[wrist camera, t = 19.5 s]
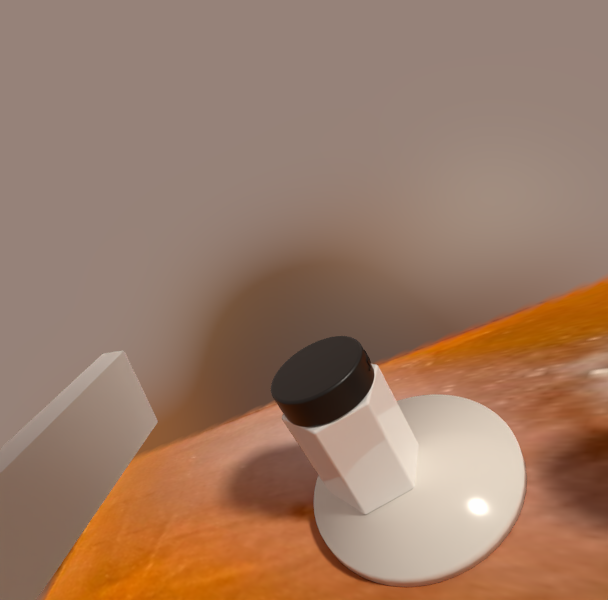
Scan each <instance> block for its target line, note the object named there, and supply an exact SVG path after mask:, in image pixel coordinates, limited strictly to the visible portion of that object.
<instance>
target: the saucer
mask: <svg viewBox="0 0 608 600" xmlns="http://www.w3.org/2000/svg"><path fill="white" fill-rule="evenodd" d="M397 403H398V405H399V407H400V409H401V411H402V413H403V415H404V417H405V419H406V421H407V423H408V424H409V426H410V428H411V430H412V432H413V434H414V436H415V438H416V440H417V442H418V444H419V448H418V458H417V468H416V478H415V487H414V488H413V489H412V490H410V491H408V492H406V493H405V494H403V495H401V496H399V497H397V498H396V499H394V500H392V501H390V502H388V503H386V504H385V505H383V506H381V507H379V508H377V509H376V510H374V511H372V512H370V513H368V514H363V513H362V512H360V511H358V510H357V509H355V508H353V507H352V506H350V505H349V504H347V503H345V502H344V501H342V500H341V499H339V498H337V497H336V496H334V495H333V494H331V493H330V492H329V490H328V489H327V487H326V486H325V484H324V483H323V481H322V480H321V478H320V476H319V475H318V478H317V481H316V486H315V490H314V514H315V519H316V523H317V526H318V529H319V531H320V534H321V536H322V537H323V539H324V541H325V542H326V544H327V546H328V547H329V548H330V550H331V551H332V553H333V554H334V555H335V556H336V557H337V559H338V560H339V561H340V562H341V563H342V564H344V565H345V566H346V567H347V568H348V569H349V570H351V571H352V572H354V573H356V574H357V575H359V576H361V577H363V578H365V579H368V580H370V581H373V582H376V583H380V584H384V585H389V586H399V587H414V586H425V585H430V584H434V583H439V582H442V581H445V580H448V579H451V578H453V577H456V576H458V575H460V574H462V573H464V572H466V571H468V570H470V569H472V568H473V567H475V566H476V565H477V564H479V563H480V562H482V561H483V560H484V559H486V558H487V557H488V556H489V555H490V554H491V553H492V552H493V551H495V550H496V549H497V548H498V547H499V546H500V544H501V543H502V542H503V541H504V539H505V538H506V537H507V536H508V534H509V533H510V532H511V530H512V528H513V526H514V525H515V523H516V521H517V519H518V517H519V515H520V512H521V509H522V507H523V504H524V499H525V494H526V487H527V473H526V466H525V461H524V458H523V455H522V452H521V449H520V447H519V444H518V442H517V440H516V438H515V436H514V434H513V432H512V431H511V429H510V428H509V427H508V425H507V424H506V423H505V422H504V421H503V420H502V419H501V418H500V417H499V416H498V415H497V414H496V413H494V412H493V411H492V410H490V409H489V408H487V407H485V406H483V405H481V404H479V403H477V402H474V401H472V400H469V399H466V398H462V397H458V396H451V395H422V396H416V397H410V398H406V399H402V400H399V401H397Z"/></svg>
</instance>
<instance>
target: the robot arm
mask: <svg viewBox="0 0 608 600" xmlns="http://www.w3.org/2000/svg"><path fill="white" fill-rule="evenodd" d="M157 422H158V421H157V419H156V417H155V415H154V413H153V410H152V408H151V406H150V404H149V402H148V400H147V398H146V396H145V394H144V391H143V389H142V387H141V385H140V383H139V381H138V379H137V376H136V375H135V373H134V370H133V368H132V366H131V364H130V362H129V360H128V358H127V355H126V354H125V351H118V352H111V353H104V354H102V355H101V356H100V357H99V358H98V359H97V360H96V361H94V362H93V363H92V364H91V365H90V366H89V367H88V368H87V369H86V370H85V371H84V372H83V373H81V374H80V375H79V376H78V377H77V378H76V379H75V380H74V381H73V382H72V383H71V384H70V385H69V386H67V387H66V388H65V389H64V390H63V391H62V392H61V393H60V394H59V395H58V396H57V397H56V398H54V399H53V400H52V401H51V402H50V403H49V404H48V405H47V406H46V407H45V408H44V409H43V410H42V411H40V413H38V414H37V415H36V416H35V417H34V418H33V419H32V420H31V421H30V422H29V423H27V424H26V425H25V426H24V427H23V428H22V429H21V430H20V431H19V432H18V433H17V434H16V435H14V436H13V437H12V438H11V439H10V440H9V441H8V442H7V443H6V444H5V445H4V446H3V447H2V448H1V449H0V600H36V599H37V598H38V596H39V595H40V594H41V592H42V591H43V589H44V588H45V586H46V585H47V583H48V582H49V580H50V579H51V577H52V576H53V574H54V573H55V572H56V570H57V569H58V567H59V566H60V564H61V563H62V561H63V560H64V558H65V557H66V555H67V554H68V553H69V551H70V550H71V548H72V547H73V545H74V544H75V542H76V541H77V539H78V538H79V536H80V535H81V534H82V532H83V531H84V529H85V528H86V526H87V525H88V523H89V522H90V520H91V519H92V517H93V516H94V514H95V513H96V512H97V510H98V509H99V507H100V506H101V504H102V503H103V501H104V500H105V498H106V497H107V495H108V494H109V492H110V491H111V490H112V488H113V487H114V485H115V484H116V482H117V481H118V479H119V478H120V476H121V475H122V473H123V472H124V471H125V469H126V468H127V466H128V465H129V463H130V462H131V460H132V459H133V457H134V456H135V454H136V453H137V451H138V450H139V449H140V447H141V445H142V444H143V443H144V441H145V440H146V438H147V437H148V435H149V434H150V432H151V431H152V430H153V428H154V427H155V425H156V424H157Z"/></svg>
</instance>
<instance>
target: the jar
mask: <svg viewBox="0 0 608 600" xmlns="http://www.w3.org/2000/svg"><path fill="white" fill-rule="evenodd" d="M271 393H272V396H273V398H274V400H275V401H276V403H277V404H278V406H279V407H280V409H281V410H282V412H283V413H284V414H283V416H282V420H283V422H284V423H285V425H286V426H287V428H288V429H289V431H290V432H291V434H292V435H293V437H294V438H295V440H296V441H297V443H298V444H299V446H300V447H301V449H302V451H303V452H304V454H305V455H306V457H307V458H308V460H309V461H310V463H311V464H312V466H313V467H314V469H315V470H316V472H317V473H318V475H319V476H320V478H321V480H322V481H323V483H324V484H325V486H326V487H327V489H328V490H329V492H330V493H331V494H333V495H334V496H336V497H337V498H339V499H341V500H342V501H344V502H345V503H347V504H349V505H350V506H352V507H353V508H355V509H357V510H358V511H360V512H362V513H363V514H368V513H370V512H372V511H374V510H376V509H377V508H379V507H381V506H383V505H385V504H386V503H388V502H390V501H392V500H394V499H396V498H397V497H399V496H401V495H403V494H405V493H406V492H408V491H410V490H412V489H413V488H414V487H415V478H416V468H417V458H418V448H419V444H418V442H417V440H416V438H415V436H414V434H413V432H412V430H411V428H410V426H409V424H408V423H407V421H406V419H405V417H404V415H403V413H402V411H401V409H400V407H399V405H398V403H397V401H396V399H395V397H394V396H393V394H392V392H391V390H390V388H389V386H388V384H387V382H386V380H385V378H384V376H383V374H382V372H381V370H380V369H379V367H378V365H375V364H371V361H370V359H369V357H368V355H367V353H366V351H365V350H364V349H363V347H362V346H361V344H360V343H359V342H358V341H357V340H356V339H354V338H351V337H347V336H336V337H330V338H326V339H323V340H320V341H318V342H315V343H313V344H311V345H309V346H307V347H305V348H303V349H302V350H300V351H299V352H297V353H296V354H295V355H293V356H292V357H291V358H290V359H288V361H286V362H285V363H284V364H283V366H282V367H281V368H280V369H279V370H278V372H277V373H276V375H275V377H274V379H273V381H272V385H271Z"/></svg>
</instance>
